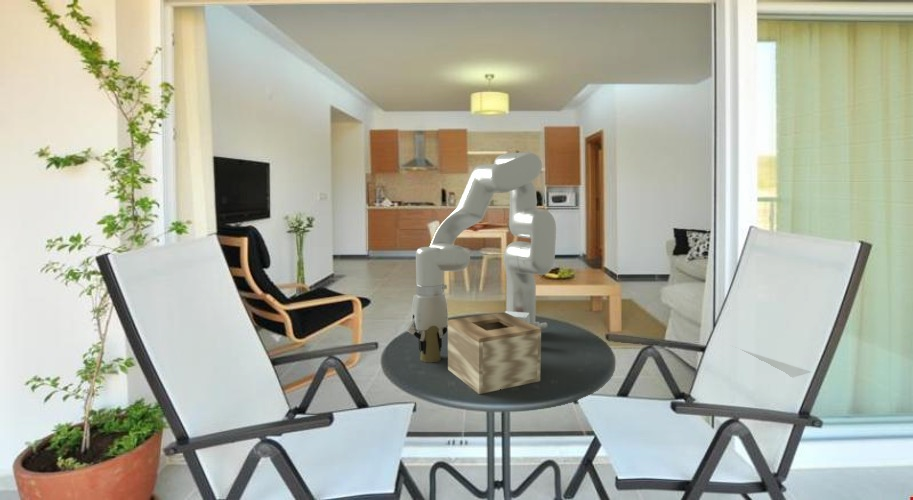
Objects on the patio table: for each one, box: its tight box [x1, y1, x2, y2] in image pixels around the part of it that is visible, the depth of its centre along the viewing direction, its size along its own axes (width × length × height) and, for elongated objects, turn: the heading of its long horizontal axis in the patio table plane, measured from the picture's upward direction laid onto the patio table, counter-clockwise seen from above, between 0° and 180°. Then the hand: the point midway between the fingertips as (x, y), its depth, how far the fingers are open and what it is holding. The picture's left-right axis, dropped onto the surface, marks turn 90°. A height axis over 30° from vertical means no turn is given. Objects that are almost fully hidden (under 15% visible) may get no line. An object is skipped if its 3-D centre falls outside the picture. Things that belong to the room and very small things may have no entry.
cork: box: [419, 326, 442, 363], centre depth 147 cm, size 6×6×11 cm
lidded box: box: [447, 311, 542, 395], centre depth 134 cm, size 18×18×14 cm
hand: (430, 351), depth 147 cm, fingers closed on cork, 3 cm apart
